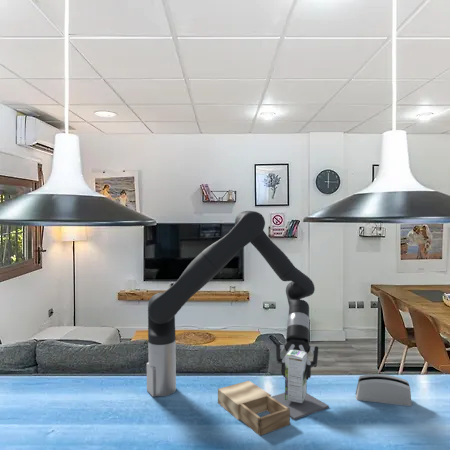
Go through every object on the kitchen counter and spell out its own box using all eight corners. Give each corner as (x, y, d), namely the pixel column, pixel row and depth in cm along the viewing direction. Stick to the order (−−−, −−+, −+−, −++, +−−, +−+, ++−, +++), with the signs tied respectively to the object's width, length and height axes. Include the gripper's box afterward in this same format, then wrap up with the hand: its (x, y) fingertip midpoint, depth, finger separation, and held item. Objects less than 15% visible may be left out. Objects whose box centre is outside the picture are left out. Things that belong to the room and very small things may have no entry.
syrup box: (289, 392, 124) (289, 348, 124) (307, 396, 122) (307, 351, 122) (284, 400, 119) (284, 354, 119) (303, 404, 117) (303, 357, 116)
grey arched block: (409, 398, 123) (411, 374, 120) (412, 410, 119) (414, 385, 116) (354, 392, 128) (355, 369, 124) (355, 403, 123) (356, 379, 120)
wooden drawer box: (291, 424, 109) (291, 408, 109) (257, 436, 103) (257, 420, 102) (249, 393, 127) (248, 380, 127) (217, 402, 121) (217, 388, 121)
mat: (294, 420, 111) (294, 418, 111) (265, 400, 123) (265, 398, 123) (328, 407, 118) (328, 405, 118) (298, 390, 130) (298, 388, 130)
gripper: (276, 322, 129) (271, 370, 118) (319, 325, 125) (319, 374, 114) (277, 333, 134) (273, 380, 123) (319, 335, 131) (319, 384, 120)
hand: (295, 377), depth 119 cm, fingers closed on syrup box, 6 cm apart
